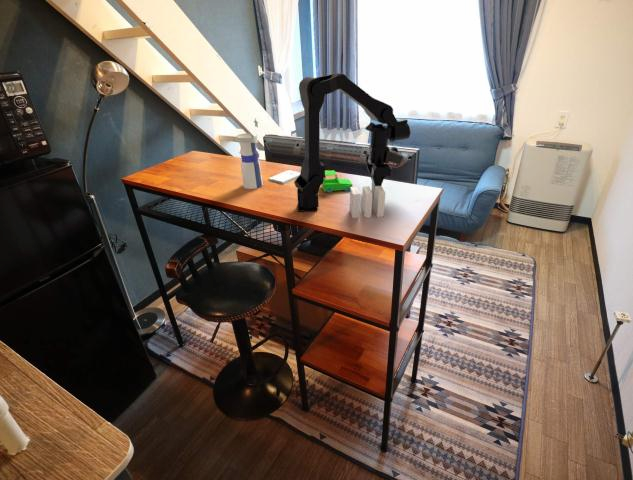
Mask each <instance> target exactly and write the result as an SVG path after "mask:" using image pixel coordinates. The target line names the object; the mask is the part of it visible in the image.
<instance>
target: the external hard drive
mask: <svg viewBox="0 0 633 480" xmlns="http://www.w3.org/2000/svg"><path fill="white" fill-rule="evenodd" d="M300 173H301V171H300V172H299V171H295V170H290V169H288V170H286V171H283V172H280V173H278V174H275V175H273V176H271V177H269V178H267V179H268V181H270V182H274V183H277V184H281V185H285V184H288V183H289V182H291V181H295V180H296V179H297V178H298V176H299V175H300Z"/></svg>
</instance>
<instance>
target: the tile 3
mask: <svg viewBox="0 0 633 480" xmlns="http://www.w3.org/2000/svg"><path fill="white" fill-rule="evenodd" d="M373 197H374V196H373ZM373 200H374V201H373V211H374V212H375V215H376V217H377V218H379V217H385V216H384V215H385V204H386V191H385V190H384V188H383V186H382V185H381V186H375V197H374V199H373Z"/></svg>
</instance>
